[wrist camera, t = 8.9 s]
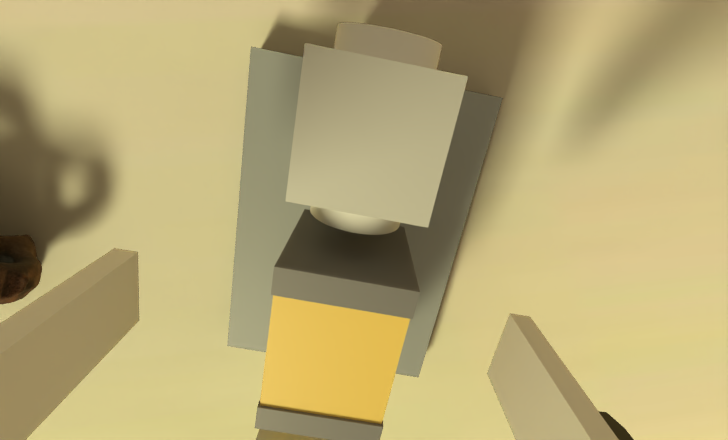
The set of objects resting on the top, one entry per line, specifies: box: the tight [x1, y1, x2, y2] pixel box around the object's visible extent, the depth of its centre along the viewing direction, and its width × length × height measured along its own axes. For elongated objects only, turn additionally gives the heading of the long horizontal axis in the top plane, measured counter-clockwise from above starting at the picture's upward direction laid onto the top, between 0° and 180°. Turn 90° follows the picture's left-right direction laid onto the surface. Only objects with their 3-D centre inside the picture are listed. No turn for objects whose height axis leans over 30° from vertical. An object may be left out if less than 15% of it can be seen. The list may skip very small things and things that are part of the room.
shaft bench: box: [228, 22, 503, 440], centre depth 17 cm, size 12×18×10 cm, turn 169°
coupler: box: [255, 209, 420, 440], centre depth 14 cm, size 4×6×5 cm
